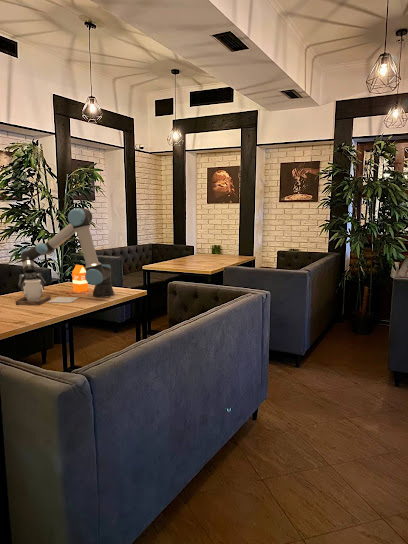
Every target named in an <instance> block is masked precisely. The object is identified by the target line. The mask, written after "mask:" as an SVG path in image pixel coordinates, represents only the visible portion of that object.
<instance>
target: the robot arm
mask: <svg viewBox="0 0 408 544" xmlns="http://www.w3.org/2000/svg"><path fill="white" fill-rule="evenodd" d="M67 220H68V224H67V225H65V227H63V228H62V229H61V230H60V231H58V232H57V233H56V234H55V235H54V236H52V237H51V238H50V239H49V240H47V242H45V243H44V242H39V243H37V244H36V245H35V246H33V247H32V248H23V249H22V250H21V251H20V258H21V262H22V268H23V270H22V271H23V274H22V273H20V274H19V280H18V284H17V288H20V289H21V292H22V293H23V296H24V297H26V292H25V283H24V281H26V280H32V279H38V280H41V282H40V284H41V296H42V295H44V291H45V286H46V285H47V282H46V280H45V279H44V277H43V276H42V273H41V272H38V273H37V272H36V271H37V270H36V265H35V261H34V260H37V258H39V257H41V256H45V255H50V254H53V253H54V252H55V250H56V249H57V248H58V247H59V246H61V245H62V244H63V243H65V242H66V241H67V240H68V239H70V238H71V237H72V236H73V235H74V234H76V235H77V238H78V241H79V244H80V248H81V252H82V256H83V259H84V263H85V266H84V268H85V270H86V274H85V279H86V281H87V282H88V285H91V286H94V287H93V290H92V291H93V292H92V296H93V297H96V298H106V296H108V297H112V296H114V295H115V292H114V289H113V288H114V287H113V285H112V267H111V264H103V263H101V262H99V258H98V255H97V252H96V251H97V250H96V249H95V248H96V247H95V245H94V241H93V238H92V235H91V232H90V227H91V223H92V220H93V213H92V212H91V210H90V209H87V208H79V207H77V208H73V209H71V210H70V211H69V212H68V214H67ZM23 278H24V280H23ZM22 280H23V282H22ZM113 294H114V295H113ZM111 295H112V296H111Z"/></svg>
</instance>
